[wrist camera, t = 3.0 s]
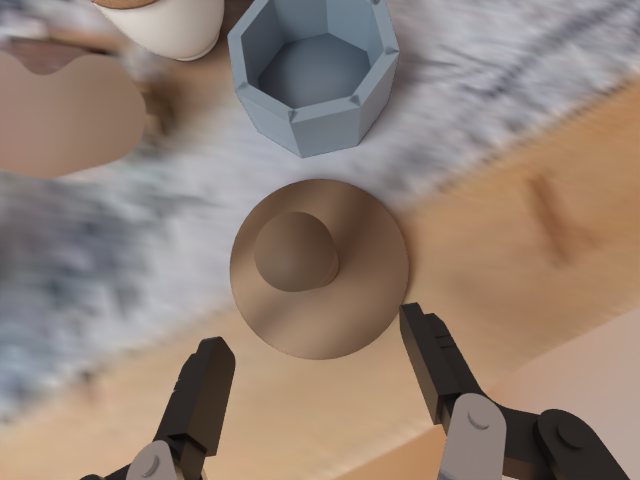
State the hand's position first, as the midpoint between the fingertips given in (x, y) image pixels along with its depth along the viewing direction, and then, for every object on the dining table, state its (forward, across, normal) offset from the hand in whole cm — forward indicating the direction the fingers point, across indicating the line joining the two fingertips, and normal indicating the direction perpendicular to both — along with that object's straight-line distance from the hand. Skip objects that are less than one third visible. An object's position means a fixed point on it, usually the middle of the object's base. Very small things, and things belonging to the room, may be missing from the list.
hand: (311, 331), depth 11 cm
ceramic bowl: (+20, -3, -7) cm, 21 cm away
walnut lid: (+9, 0, +4) cm, 10 cm away
